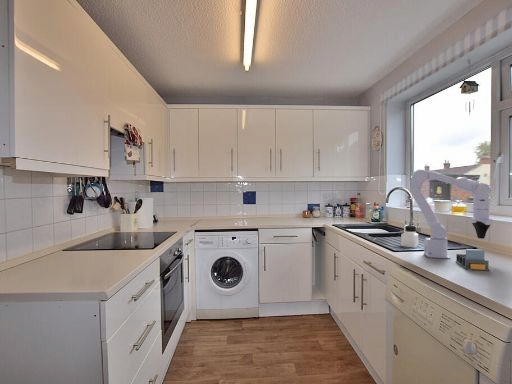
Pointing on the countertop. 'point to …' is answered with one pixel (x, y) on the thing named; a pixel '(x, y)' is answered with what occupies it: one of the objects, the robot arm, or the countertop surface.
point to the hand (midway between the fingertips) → (481, 238)
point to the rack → (472, 263)
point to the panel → (474, 254)
